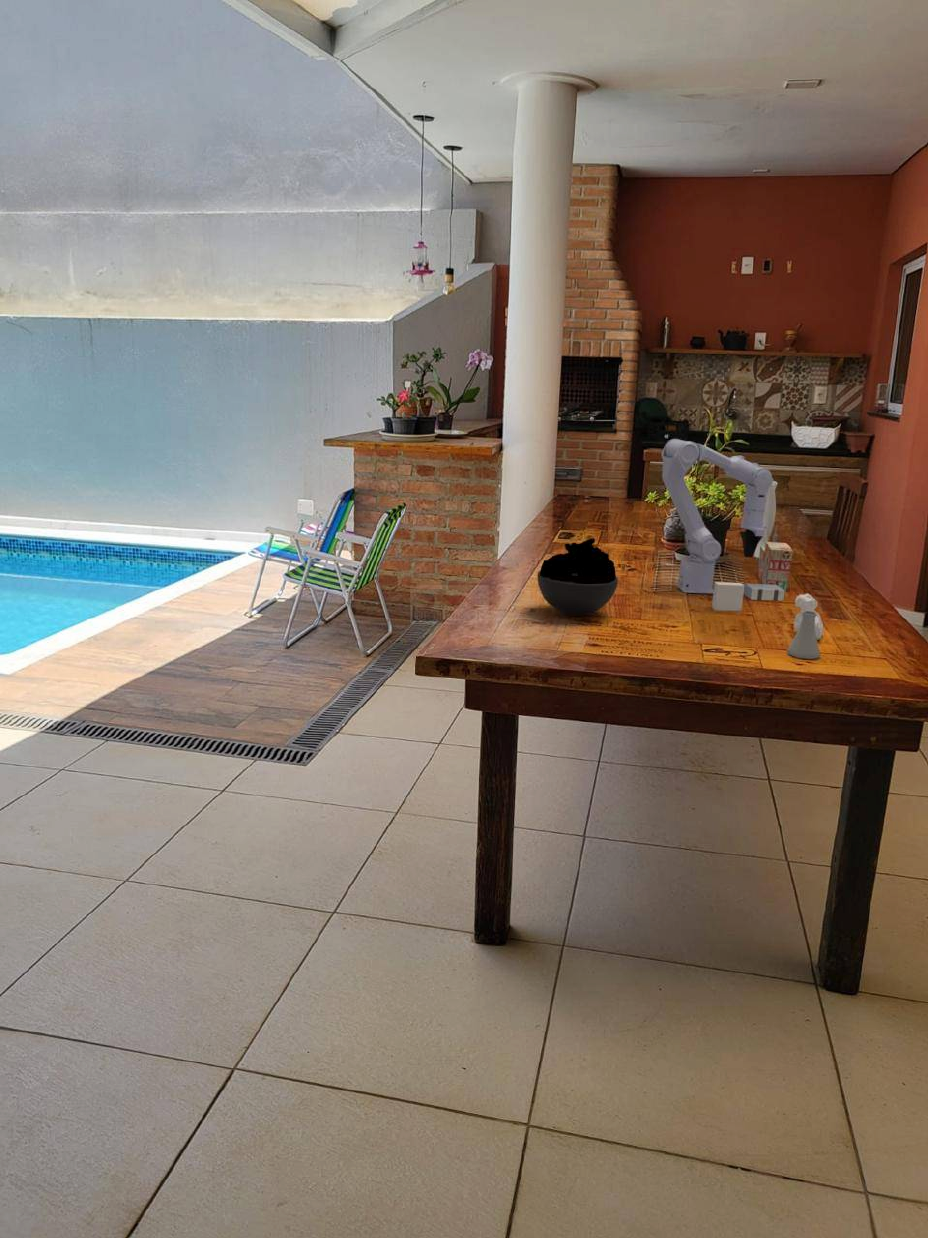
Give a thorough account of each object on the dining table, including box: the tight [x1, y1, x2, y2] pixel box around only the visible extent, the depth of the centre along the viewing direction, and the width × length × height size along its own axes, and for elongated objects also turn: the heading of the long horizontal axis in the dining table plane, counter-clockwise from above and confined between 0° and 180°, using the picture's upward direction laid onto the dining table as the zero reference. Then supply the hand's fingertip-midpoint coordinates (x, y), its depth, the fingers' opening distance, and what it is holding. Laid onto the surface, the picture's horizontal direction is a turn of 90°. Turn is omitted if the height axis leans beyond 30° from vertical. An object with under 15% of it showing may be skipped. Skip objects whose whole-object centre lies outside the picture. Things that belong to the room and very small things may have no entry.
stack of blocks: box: [757, 541, 794, 591], centre depth 283 cm, size 21×6×12 cm, turn 170°
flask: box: [786, 611, 821, 660], centre depth 209 cm, size 7×7×10 cm
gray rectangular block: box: [743, 583, 786, 602], centre depth 264 cm, size 9×3×7 cm
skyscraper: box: [752, 480, 779, 560], centre depth 322 cm, size 8×8×28 cm
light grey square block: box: [711, 581, 745, 612], centre depth 248 cm, size 7×3×7 cm, turn 91°
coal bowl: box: [537, 537, 619, 617], centre depth 233 cm, size 20×20×19 cm
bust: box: [793, 593, 825, 641], centre depth 225 cm, size 12×8×11 cm
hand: (748, 556), depth 269 cm, fingers closed
